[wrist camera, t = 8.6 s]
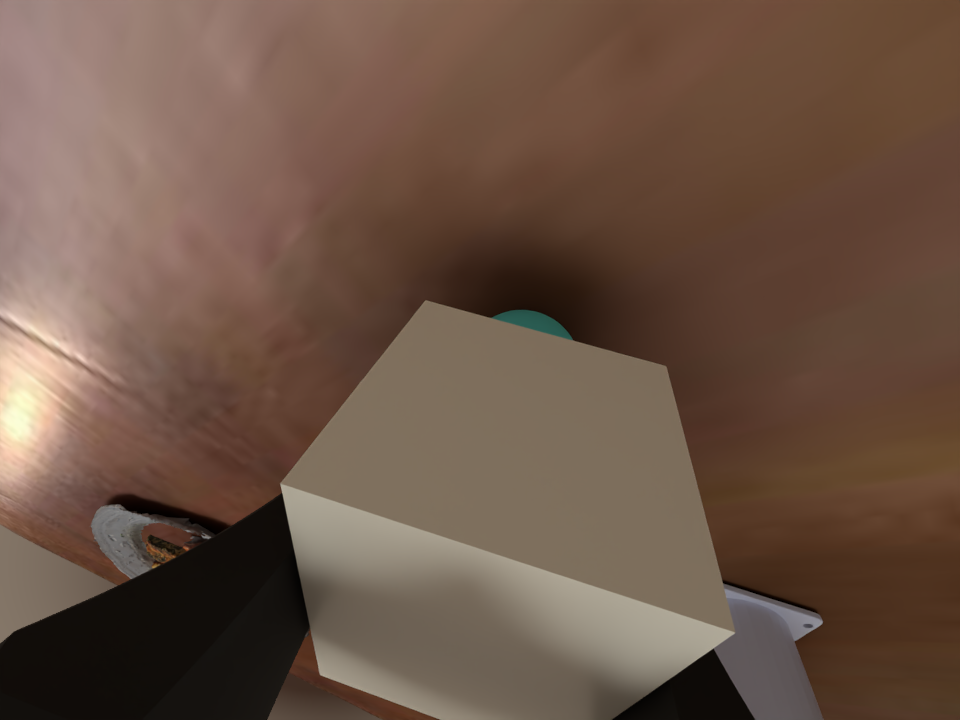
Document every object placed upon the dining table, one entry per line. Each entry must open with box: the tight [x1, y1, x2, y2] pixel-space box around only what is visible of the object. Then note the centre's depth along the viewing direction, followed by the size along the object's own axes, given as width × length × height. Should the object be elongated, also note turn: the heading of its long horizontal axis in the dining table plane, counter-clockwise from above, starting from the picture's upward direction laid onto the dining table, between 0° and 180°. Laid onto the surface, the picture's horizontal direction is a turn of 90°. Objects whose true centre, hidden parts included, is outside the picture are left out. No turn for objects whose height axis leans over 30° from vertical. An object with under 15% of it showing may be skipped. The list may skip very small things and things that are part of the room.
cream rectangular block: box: [281, 300, 736, 720], centre depth 10 cm, size 8×6×6 cm
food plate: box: [91, 504, 310, 637], centre depth 43 cm, size 25×23×4 cm
